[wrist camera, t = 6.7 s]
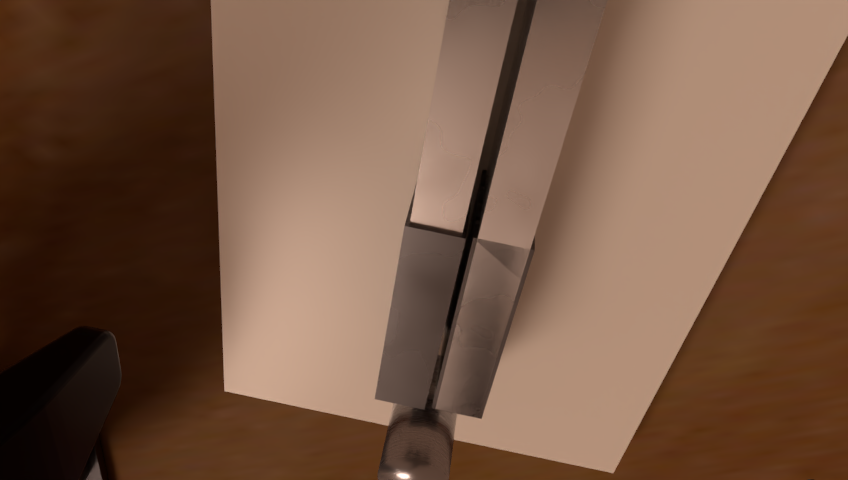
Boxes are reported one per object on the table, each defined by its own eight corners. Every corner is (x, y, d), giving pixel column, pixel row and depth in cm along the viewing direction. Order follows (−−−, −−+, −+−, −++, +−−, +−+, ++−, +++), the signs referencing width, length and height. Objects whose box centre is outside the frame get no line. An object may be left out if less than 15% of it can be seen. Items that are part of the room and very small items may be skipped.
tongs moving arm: (437, 335, 22) (424, 409, 19) (351, 317, 22) (328, 388, 19) (587, -302, 12) (598, -306, 10) (434, -331, 12) (408, -343, 10)
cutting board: (611, 449, 25) (613, 472, 25) (234, 370, 26) (224, 390, 25) (1044, -394, 12) (1081, -403, 11) (214, -548, 12) (191, -567, 11)
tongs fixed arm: (508, 412, 24) (502, 520, 20) (397, 388, 24) (374, 493, 20) (746, -271, 12) (817, -267, 9) (531, -312, 12) (526, -322, 9)
